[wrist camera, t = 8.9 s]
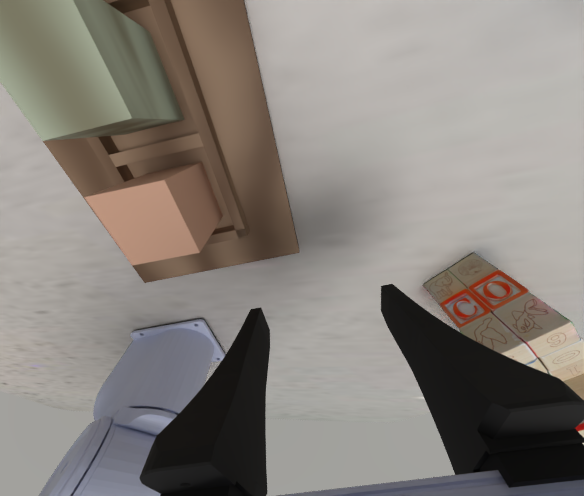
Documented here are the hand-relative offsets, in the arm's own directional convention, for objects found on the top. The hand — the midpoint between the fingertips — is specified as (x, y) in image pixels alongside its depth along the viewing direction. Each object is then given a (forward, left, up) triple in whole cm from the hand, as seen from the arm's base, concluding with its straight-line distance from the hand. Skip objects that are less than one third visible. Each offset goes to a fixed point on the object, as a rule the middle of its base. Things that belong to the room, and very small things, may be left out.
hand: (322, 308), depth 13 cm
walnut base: (-9, +10, -9) cm, 16 cm away
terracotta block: (-9, +6, -8) cm, 14 cm away
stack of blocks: (+20, -16, -10) cm, 28 cm away
